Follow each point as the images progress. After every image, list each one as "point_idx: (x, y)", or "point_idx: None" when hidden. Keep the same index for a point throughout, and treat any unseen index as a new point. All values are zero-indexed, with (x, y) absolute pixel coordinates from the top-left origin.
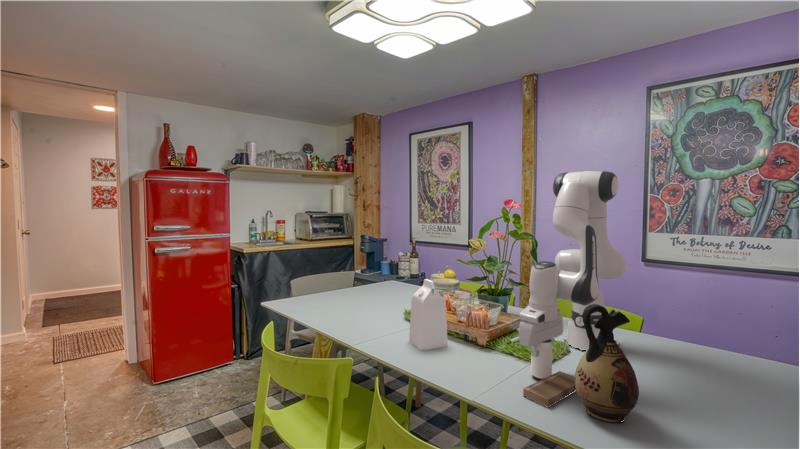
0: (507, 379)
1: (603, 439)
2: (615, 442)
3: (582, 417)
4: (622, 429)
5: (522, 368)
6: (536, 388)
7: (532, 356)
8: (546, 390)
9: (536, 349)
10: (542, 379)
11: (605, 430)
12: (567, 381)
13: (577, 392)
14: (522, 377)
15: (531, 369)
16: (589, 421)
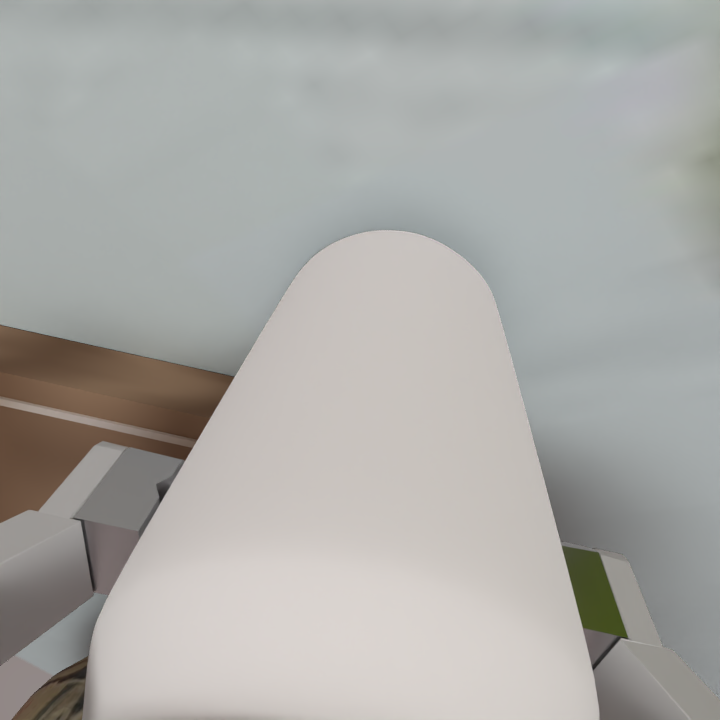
0: (69, 34)
1: (23, 649)
2: (46, 671)
3: (94, 594)
4: None
5: (518, 30)
6: (8, 425)
7: (230, 390)
8: (54, 484)
9: (21, 639)
10: (198, 418)
11: (87, 652)
12: None
13: (41, 693)
14: (259, 159)
15: (300, 277)
16: (91, 614)
